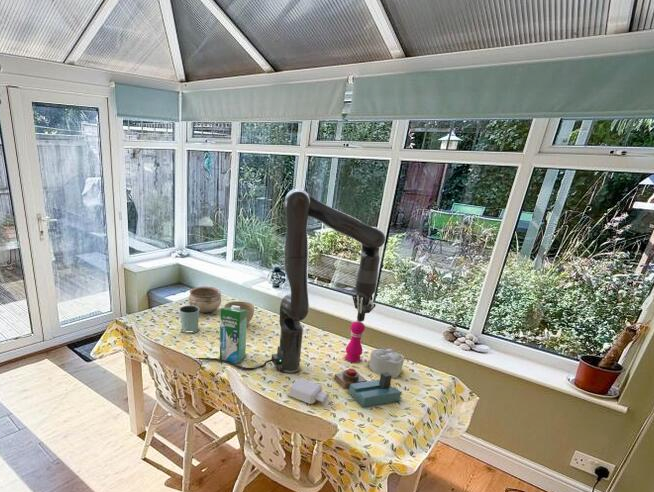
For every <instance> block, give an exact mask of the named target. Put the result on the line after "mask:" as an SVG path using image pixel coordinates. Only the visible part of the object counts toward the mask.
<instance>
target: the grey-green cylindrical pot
mask: <svg viewBox="0 0 654 492" xmlns="http://www.w3.org/2000/svg"><path fill="white" fill-rule="evenodd" d="M178 311H179V317H180V323H181V331H182V332H183V333H185V334H195V333H197V332H198V331H199V322H200V321H199V317H200V312H199V308H198V307H197V306H190V305H184V306H181V307H180V308H179V310H178ZM182 329H183V330H184V331H183V330H182ZM197 329H198V330H197ZM186 331H193V332H186Z"/></svg>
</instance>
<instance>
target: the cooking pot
mask: <svg viewBox="0 0 654 492" xmlns="http://www.w3.org/2000/svg"><path fill="white" fill-rule="evenodd" d="M189 293H190V294H189V295H188V302H187V304H189V306H197V307H198V308H199V313H201V314H209V313H212V312H213V311H215V310H217V309H219V307H220V306H221V303H222V297H221V296H222V295H221V294H222V293H221V290H220V289H219V288H217V287H214V286H196V287H193V288H191V289H190V290H189Z"/></svg>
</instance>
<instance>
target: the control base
mask: <svg viewBox="0 0 654 492" xmlns="http://www.w3.org/2000/svg"><path fill="white" fill-rule="evenodd" d="M379 382H380V379H374V380H367V382H360V383H353V384H350V388H348V394H350V395H351V396H352V397H353V398H354V399H355V400H356V402H357V403H358V404H359V405H360V406H362V407H363V408H366V407H371V406H376V405H382V404H389V403H394V402H400V401H401V397H402V391H401V390H400V389H399V388H397V387H396V386H392V383H391V382H390V387H388V388H385V389H380V385H379Z"/></svg>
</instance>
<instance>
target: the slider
mask: <svg viewBox="0 0 654 492" xmlns="http://www.w3.org/2000/svg"><path fill="white" fill-rule="evenodd" d="M391 377H392V375H390V374H389V373H388V372H384V373H381V375H380V376H379V380H380V382H379V385H380V389H385V388H388V387H390V383H391V381H392V378H391Z"/></svg>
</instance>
